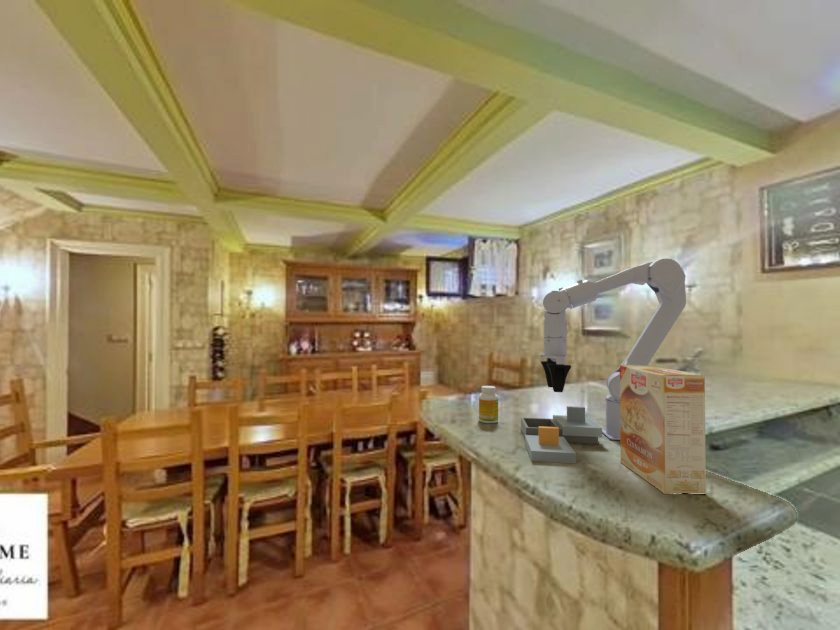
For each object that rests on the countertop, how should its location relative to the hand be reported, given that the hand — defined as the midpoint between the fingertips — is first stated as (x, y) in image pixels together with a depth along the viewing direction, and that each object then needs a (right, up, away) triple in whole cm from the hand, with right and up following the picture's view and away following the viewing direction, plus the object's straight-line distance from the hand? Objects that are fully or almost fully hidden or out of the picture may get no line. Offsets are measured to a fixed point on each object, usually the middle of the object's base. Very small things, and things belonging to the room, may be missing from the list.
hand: (555, 389), depth 102 cm
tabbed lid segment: (-8, -10, -19) cm, 23 cm away
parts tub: (-2, -10, -7) cm, 13 cm away
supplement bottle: (-16, -11, +8) cm, 21 cm away
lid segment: (+2, -8, -8) cm, 11 cm away
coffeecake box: (+8, -10, -32) cm, 34 cm away
